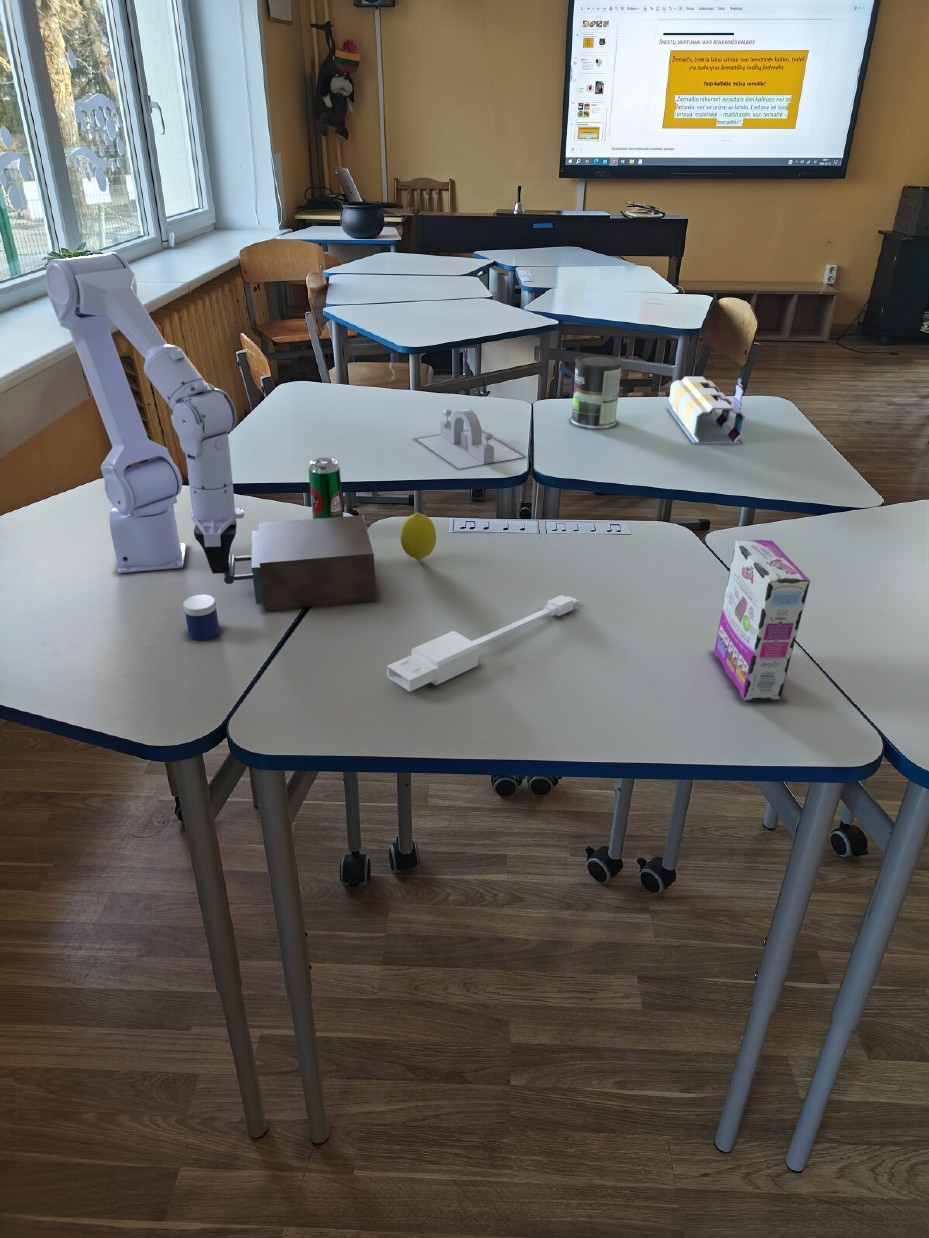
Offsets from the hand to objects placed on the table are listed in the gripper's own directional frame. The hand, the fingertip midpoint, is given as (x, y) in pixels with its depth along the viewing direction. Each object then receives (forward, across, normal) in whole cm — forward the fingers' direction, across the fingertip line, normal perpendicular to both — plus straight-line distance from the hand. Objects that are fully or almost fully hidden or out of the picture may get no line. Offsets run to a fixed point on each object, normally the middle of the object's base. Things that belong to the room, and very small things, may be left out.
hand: (220, 571), depth 123 cm
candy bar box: (+1, -34, -65) cm, 74 cm away
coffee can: (0, +68, -80) cm, 105 cm away
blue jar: (+4, -11, +2) cm, 12 cm away
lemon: (+2, +5, -30) cm, 30 cm away
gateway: (+2, +55, -48) cm, 74 cm away
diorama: (-1, +61, -104) cm, 120 cm away
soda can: (+3, +19, -17) cm, 26 cm away
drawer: (+2, 0, -10) cm, 10 cm away
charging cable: (+2, -22, -35) cm, 41 cm away
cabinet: (+3, 0, -14) cm, 14 cm away
